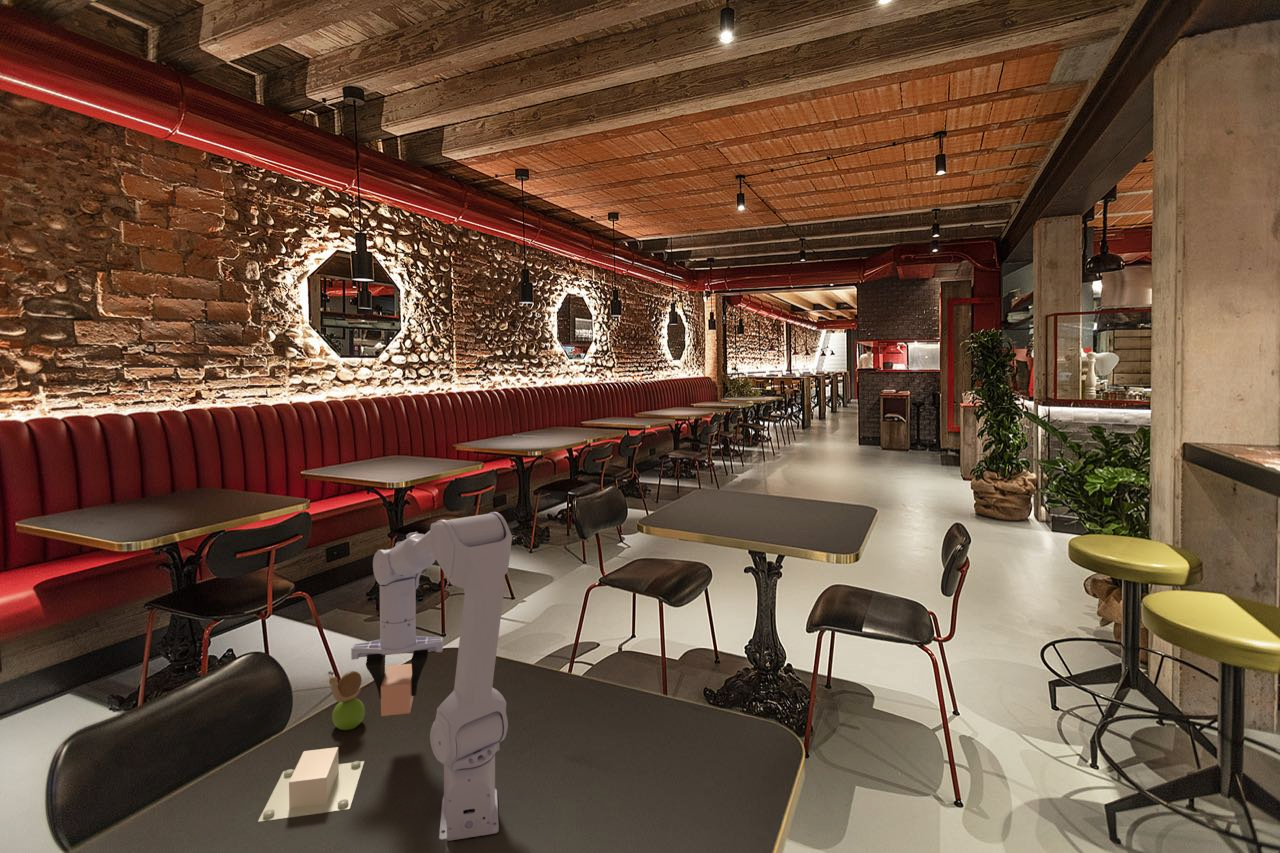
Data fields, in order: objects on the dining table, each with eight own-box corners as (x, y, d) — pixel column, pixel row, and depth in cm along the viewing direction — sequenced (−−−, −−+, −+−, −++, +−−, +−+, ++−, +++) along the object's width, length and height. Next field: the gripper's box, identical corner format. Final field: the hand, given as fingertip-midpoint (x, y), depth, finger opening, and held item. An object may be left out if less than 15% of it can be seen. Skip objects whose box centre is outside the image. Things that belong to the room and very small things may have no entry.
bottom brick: (326, 803, 92) (326, 777, 92) (289, 808, 91) (288, 782, 91) (338, 771, 100) (338, 747, 100) (304, 775, 99) (303, 751, 98)
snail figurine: (320, 734, 111) (319, 668, 111) (351, 717, 117) (351, 655, 116) (340, 742, 109) (339, 675, 108) (371, 725, 115) (371, 661, 114)
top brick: (409, 713, 104) (409, 684, 104) (381, 716, 103) (380, 686, 102) (414, 690, 112) (414, 663, 111) (388, 693, 111) (387, 665, 110)
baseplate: (349, 812, 91) (349, 806, 91) (257, 825, 88) (257, 819, 88) (364, 764, 103) (364, 758, 103) (283, 774, 100) (283, 768, 100)
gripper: (443, 606, 112) (444, 679, 113) (356, 612, 108) (357, 688, 109) (441, 620, 105) (441, 698, 106) (348, 627, 102) (349, 708, 102)
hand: (398, 694), depth 107 cm, fingers closed on top brick, 4 cm apart
